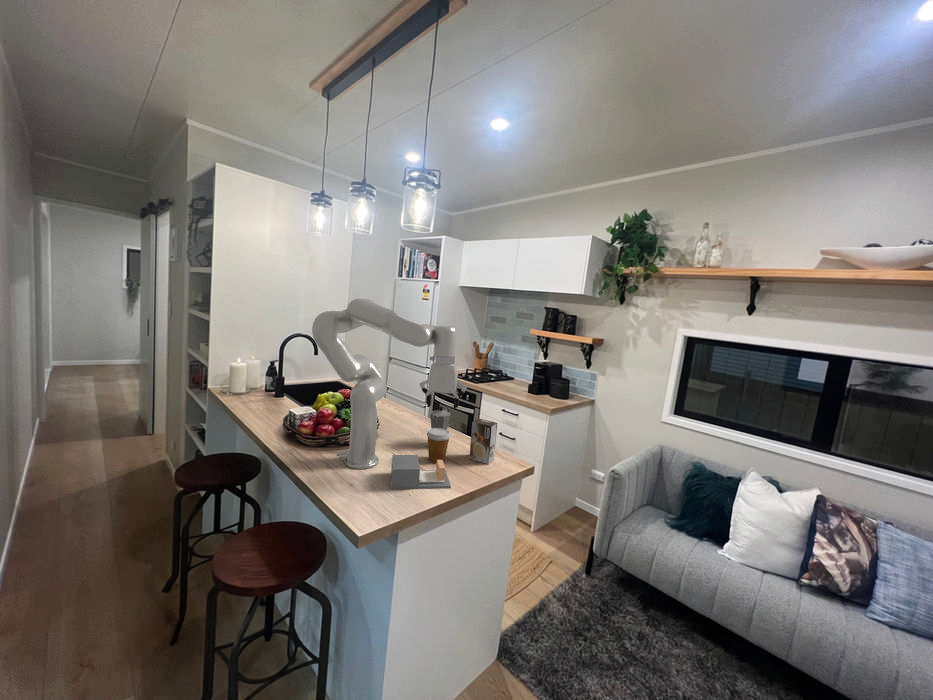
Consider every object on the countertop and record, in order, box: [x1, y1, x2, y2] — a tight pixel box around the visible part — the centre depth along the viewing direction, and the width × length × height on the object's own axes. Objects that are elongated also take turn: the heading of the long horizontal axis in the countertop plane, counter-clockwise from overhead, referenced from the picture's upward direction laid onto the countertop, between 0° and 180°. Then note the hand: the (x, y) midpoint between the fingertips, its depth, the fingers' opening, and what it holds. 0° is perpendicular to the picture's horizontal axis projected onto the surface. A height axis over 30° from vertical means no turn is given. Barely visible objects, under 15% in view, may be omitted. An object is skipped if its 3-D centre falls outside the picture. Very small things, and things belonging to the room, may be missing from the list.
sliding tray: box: [419, 460, 446, 483], centre depth 131 cm, size 18×8×5 cm, turn 102°
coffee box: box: [468, 418, 498, 465], centre depth 154 cm, size 9×6×16 cm
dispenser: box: [390, 454, 452, 490], centre depth 131 cm, size 20×12×7 cm, turn 102°
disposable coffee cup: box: [426, 428, 452, 464], centre depth 149 cm, size 10×10×12 cm
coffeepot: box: [429, 406, 451, 448], centre depth 165 cm, size 15×9×18 cm, turn 159°
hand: (442, 407), depth 135 cm, fingers open, 9 cm apart
